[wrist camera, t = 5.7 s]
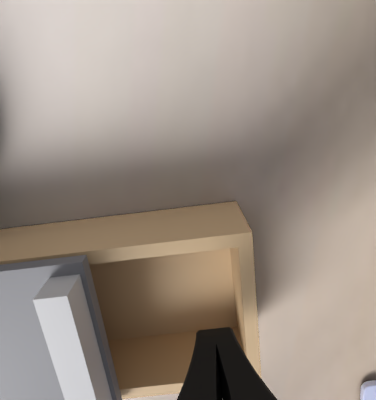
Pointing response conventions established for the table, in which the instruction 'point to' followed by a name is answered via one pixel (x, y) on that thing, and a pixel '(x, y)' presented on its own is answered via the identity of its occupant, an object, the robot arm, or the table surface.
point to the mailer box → (157, 284)
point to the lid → (53, 333)
